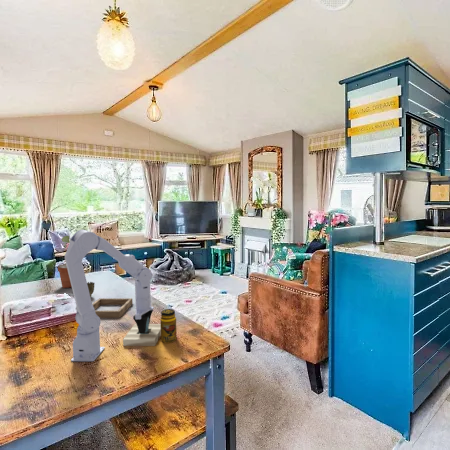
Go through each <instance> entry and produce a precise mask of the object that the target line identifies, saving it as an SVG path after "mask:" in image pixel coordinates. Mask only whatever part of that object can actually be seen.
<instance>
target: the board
mask: <svg viewBox="0 0 450 450" xmlns="http://www.w3.org/2000/svg"><path fill="white" fill-rule="evenodd" d="M160 338H161V323H149V333H148V334H140V333H139V330H138V327H137V324H136V323H135V324H133V326H132V327H130V330H129V331H128V332H127V333H126V335H124V337H123V339H122V346H124V347H155V346H156V345H157V343H158V341H159V340H160Z"/></svg>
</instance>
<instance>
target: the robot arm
mask: <svg viewBox="0 0 450 450" xmlns="http://www.w3.org/2000/svg"><path fill="white" fill-rule="evenodd" d="M69 241H70V243H68V246H67V248H66V252H65V255H64V261H65V263H66V266H67V270H68V274H69V278H70V282H71V286H72V287H71V289H72V293H73V297H74V301H75V310H76V313H75V321H76V324H78V326H77V328H76V336H75V338H74V340H72V356H73V357H72V358H71V359H70V361H71V362H95V360H97V358H98V357H99V355H101V353H102V352H103V351H104V350H105V348H106V347H105V346H101V341H100V339H101V337H100V326H101V318H99V317H98V316H97V315H96V313H95V311H96V309H94V307H93V305H92V304H93V302H92V297H90V294H89V289H88V285H87V283H88V281H87V278H86V274H85V269H84V266H83V259H84V258H85V257H86V256H87V254H89V253H90V252H92V251H94V250H97V251H103V252H104V253H106V254H107V255H108V256H110V257H111V258H113V259H114V260H115V261H117V262H118V267H120V269H122V270H123V271H124V272H126V273H127V274H129V275H130V276H132V278H133V279H134V291H135V293H134V294H135V296H134V297H135V314H134V315H133V317H132V319H133V320H134V322H135V324H137V327H138V330H139V333H145V331H146V323H147V319H148V317H149V324H151V317H152V314H153V312H154V309H155V307H154V306H152V301H151V299H152V297H151V281H152V279H153V273H152V270H151V269H150V268H148V267H146V266H144V262H140V261H139V260H137V259H136V256H135V255H134V254H129V253H128V254H127V253H126V254H124V253H123V252H121V251H120V250H119V249H117V248H116V246H114V245H113V244H111V243H110V242H109V241H108V240H106V238H103V237H102V236H99V235H97V234H96V233H95V232H93V231H89V230H86V229H79V230H77V231H76V232H75V233H74V234H73V235H72V236H71V237H69Z"/></svg>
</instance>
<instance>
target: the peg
mask: <svg viewBox="0 0 450 450" xmlns="http://www.w3.org/2000/svg"><path fill="white" fill-rule="evenodd" d="M149 324H150V323H149V317H148V319H147V323H146V331H145V333H140V334H148V333H149Z"/></svg>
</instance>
